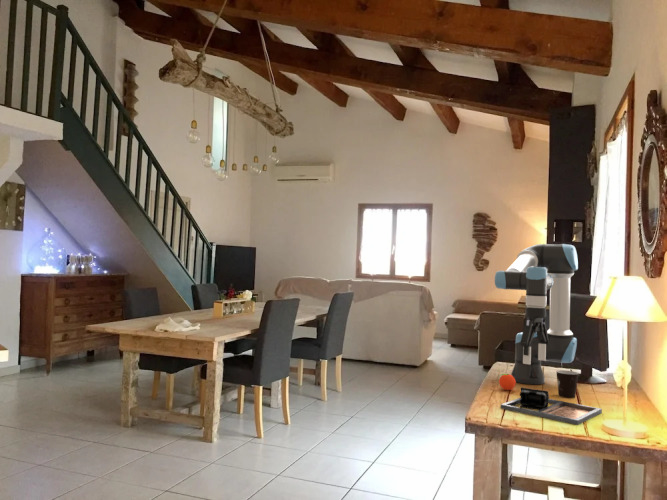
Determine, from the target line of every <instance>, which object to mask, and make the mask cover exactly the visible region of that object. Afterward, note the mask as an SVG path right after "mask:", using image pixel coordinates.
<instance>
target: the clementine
mask: <svg viewBox="0 0 667 500" xmlns="http://www.w3.org/2000/svg"><path fill="white" fill-rule="evenodd" d="M499 376H500V377H499ZM498 377H499V380H498V383H499V386H500V387H501V389H503V390H504V391H511V390H514V388H515V387H516V384H517V382H516V381H515V378H514V377H513V376H512V375H511V374H509V373H502V374H499V375H498Z"/></svg>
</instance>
